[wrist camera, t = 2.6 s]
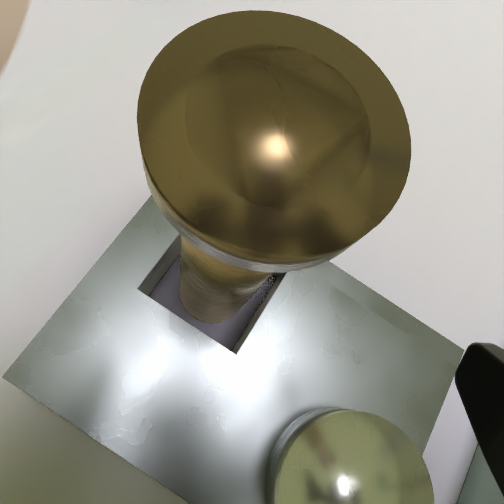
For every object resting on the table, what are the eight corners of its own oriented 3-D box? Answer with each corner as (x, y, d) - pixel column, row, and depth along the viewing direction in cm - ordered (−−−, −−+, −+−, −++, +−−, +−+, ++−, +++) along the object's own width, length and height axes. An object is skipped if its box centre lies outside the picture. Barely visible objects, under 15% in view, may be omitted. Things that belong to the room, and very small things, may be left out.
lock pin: (227, 358, 18) (335, 315, 6) (143, 303, 18) (71, 141, 6) (277, 277, 19) (449, 105, 7) (199, 226, 19) (238, -31, 7)
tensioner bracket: (326, 574, 16) (387, 655, 11) (32, 377, 16) (-26, 376, 12) (422, 354, 20) (500, 346, 15) (178, 193, 20) (178, 135, 15)
